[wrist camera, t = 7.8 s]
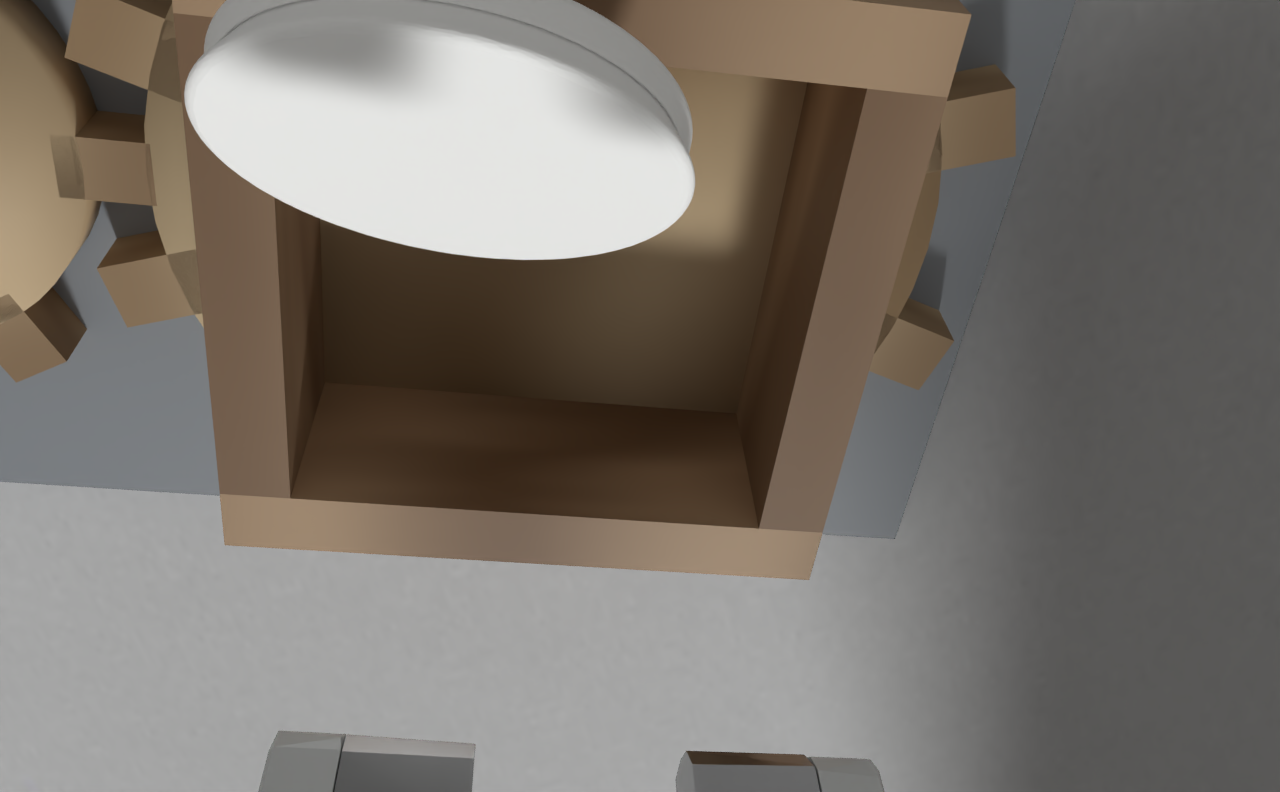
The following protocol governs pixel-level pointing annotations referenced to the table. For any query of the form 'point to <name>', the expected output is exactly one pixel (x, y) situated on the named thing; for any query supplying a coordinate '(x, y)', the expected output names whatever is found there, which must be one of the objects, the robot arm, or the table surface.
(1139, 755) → the table surface
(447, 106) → the chess piece
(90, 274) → the board
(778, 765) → the robot arm
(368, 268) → the drive gear
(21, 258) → the gear
